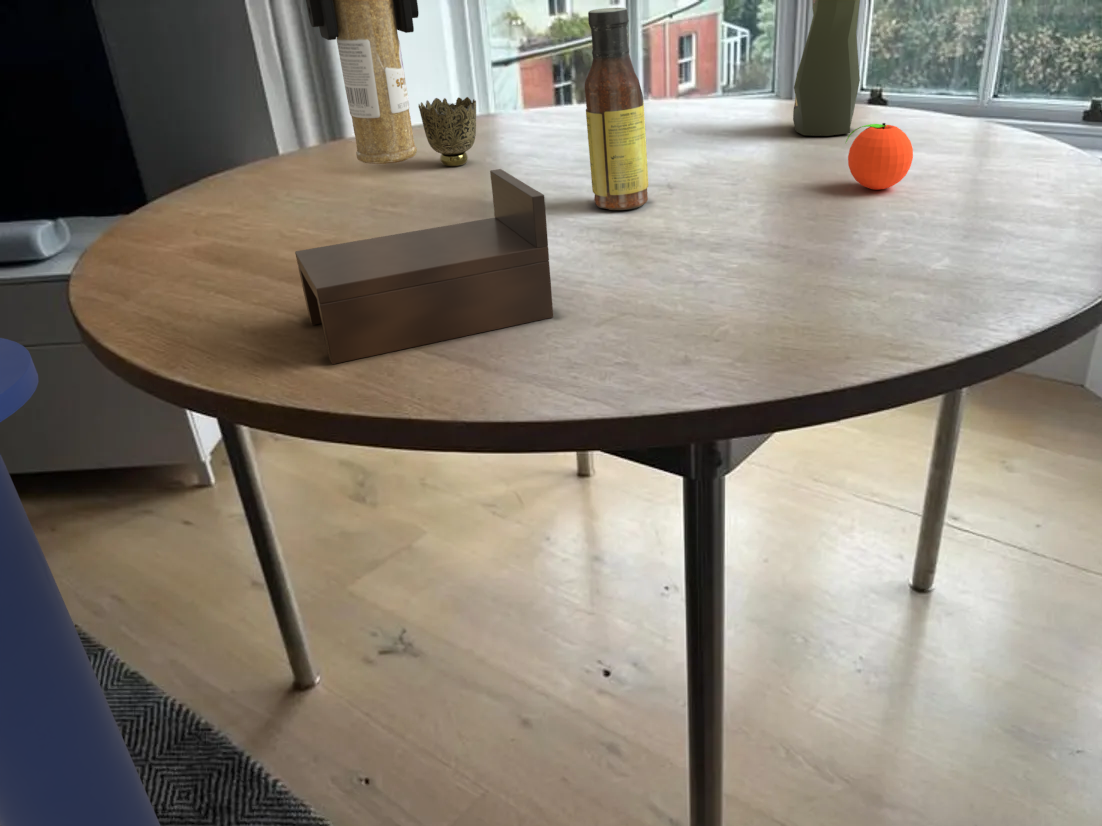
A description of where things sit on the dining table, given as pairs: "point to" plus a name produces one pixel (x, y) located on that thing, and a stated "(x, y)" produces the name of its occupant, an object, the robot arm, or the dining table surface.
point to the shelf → (433, 279)
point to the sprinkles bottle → (374, 80)
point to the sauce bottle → (615, 116)
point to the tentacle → (828, 70)
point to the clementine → (880, 156)
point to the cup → (450, 128)
